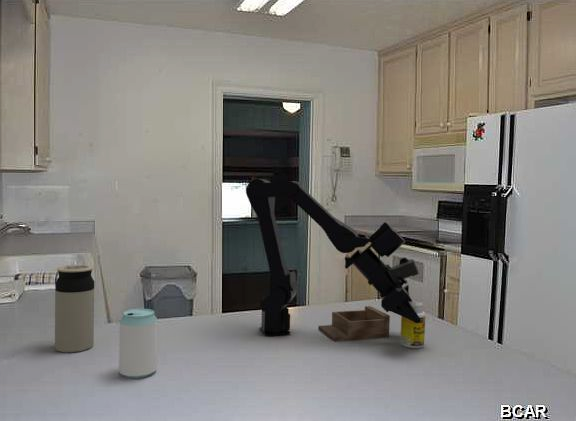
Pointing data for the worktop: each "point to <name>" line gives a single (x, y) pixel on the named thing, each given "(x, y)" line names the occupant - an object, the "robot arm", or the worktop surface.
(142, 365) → the can
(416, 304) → the supplement bottle
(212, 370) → the worktop surface
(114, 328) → the worktop surface
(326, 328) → the open wooden box
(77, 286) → the travel mug
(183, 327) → the worktop surface
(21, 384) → the worktop surface
